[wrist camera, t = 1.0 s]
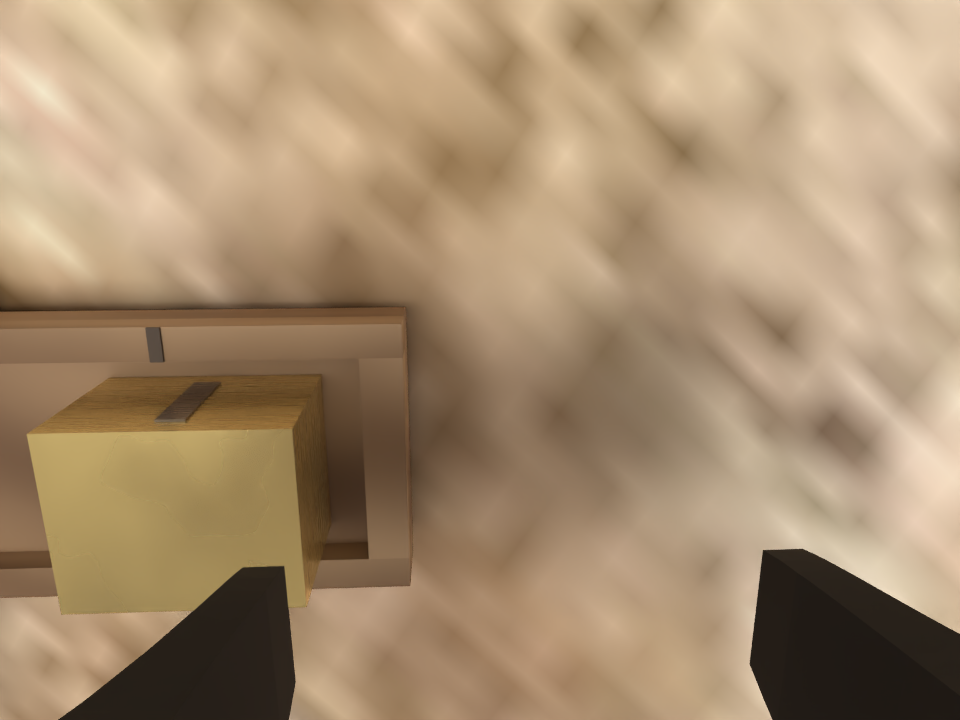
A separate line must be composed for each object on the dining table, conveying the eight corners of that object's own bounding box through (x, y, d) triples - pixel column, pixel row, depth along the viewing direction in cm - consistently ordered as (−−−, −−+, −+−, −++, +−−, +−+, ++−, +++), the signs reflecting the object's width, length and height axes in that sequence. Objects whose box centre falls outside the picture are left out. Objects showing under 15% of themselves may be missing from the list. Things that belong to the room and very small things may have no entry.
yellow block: (331, 525, 18) (306, 609, 15) (132, 530, 18) (62, 616, 15) (321, 372, 17) (291, 426, 14) (108, 375, 17) (25, 431, 14)
